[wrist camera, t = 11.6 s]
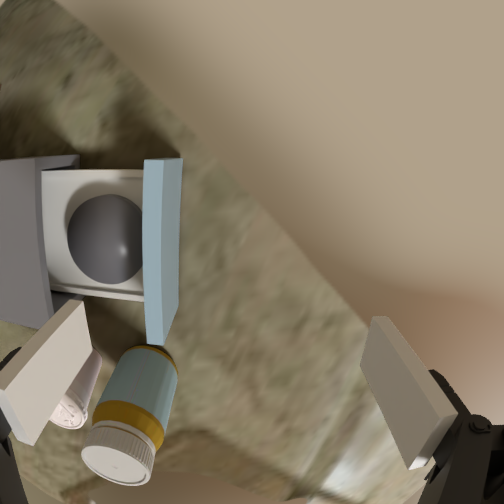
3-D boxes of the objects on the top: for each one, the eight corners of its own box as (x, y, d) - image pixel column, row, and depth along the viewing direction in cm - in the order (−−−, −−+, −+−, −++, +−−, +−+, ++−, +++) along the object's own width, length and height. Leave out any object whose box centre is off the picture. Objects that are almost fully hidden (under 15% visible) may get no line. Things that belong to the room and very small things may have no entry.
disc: (153, 280, 29) (148, 287, 28) (78, 275, 29) (71, 281, 27) (151, 194, 27) (146, 196, 25) (72, 194, 26) (64, 196, 25)
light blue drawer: (33, 287, 31) (-2, 315, 24) (24, 160, 27) (-21, 166, 20) (178, 305, 32) (163, 345, 25) (182, 158, 28) (163, 160, 21)
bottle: (120, 336, 33) (69, 432, 19) (180, 348, 34) (153, 455, 20) (123, 382, 35) (84, 475, 21) (177, 393, 36) (156, 494, 22)
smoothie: (72, 325, 33) (12, 400, 20) (118, 352, 34) (74, 439, 21) (62, 360, 34) (12, 434, 21) (105, 385, 36) (66, 466, 22)
